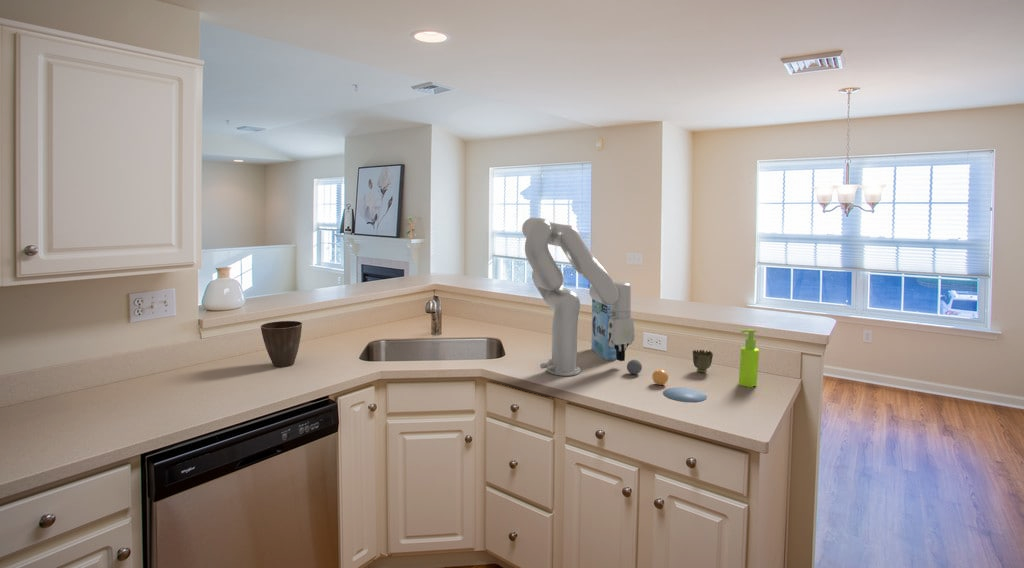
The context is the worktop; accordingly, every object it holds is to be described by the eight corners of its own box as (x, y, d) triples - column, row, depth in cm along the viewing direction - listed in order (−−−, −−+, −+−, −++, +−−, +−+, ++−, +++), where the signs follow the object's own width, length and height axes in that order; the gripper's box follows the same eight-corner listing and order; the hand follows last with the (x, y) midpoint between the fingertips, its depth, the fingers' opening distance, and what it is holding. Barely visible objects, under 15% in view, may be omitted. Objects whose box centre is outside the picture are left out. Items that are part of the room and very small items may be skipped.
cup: (713, 375, 209) (714, 355, 208) (692, 374, 211) (693, 353, 210) (710, 370, 217) (711, 350, 215) (690, 368, 218) (691, 348, 217)
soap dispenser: (733, 382, 202) (736, 327, 199) (751, 381, 202) (755, 327, 200) (740, 387, 196) (744, 331, 193) (759, 387, 197) (763, 331, 194)
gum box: (616, 360, 230) (618, 305, 226) (605, 360, 229) (606, 305, 225) (601, 348, 248) (602, 297, 245) (590, 348, 248) (591, 297, 244)
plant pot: (253, 367, 215) (251, 326, 213) (283, 357, 228) (281, 319, 226) (283, 371, 209) (281, 330, 207) (312, 361, 223) (310, 322, 221)
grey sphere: (633, 377, 207) (633, 362, 206) (623, 373, 212) (624, 359, 211) (644, 375, 209) (645, 360, 209) (634, 371, 214) (635, 357, 213)
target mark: (684, 404, 178) (684, 404, 178) (654, 391, 191) (654, 391, 191) (716, 398, 185) (716, 397, 185) (684, 385, 197) (685, 385, 197)
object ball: (659, 388, 194) (660, 372, 194) (648, 383, 199) (649, 368, 199) (671, 385, 197) (672, 370, 196) (660, 381, 202) (661, 366, 201)
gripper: (611, 318, 209) (611, 365, 212) (642, 313, 216) (641, 359, 219) (599, 314, 216) (599, 360, 218) (629, 310, 223) (629, 355, 225)
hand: (620, 360), depth 219 cm, fingers closed
